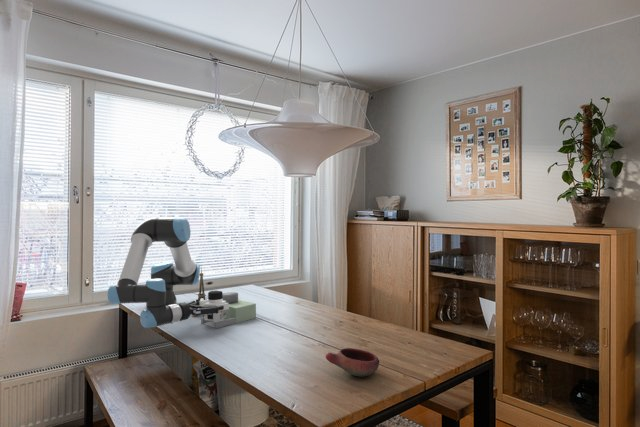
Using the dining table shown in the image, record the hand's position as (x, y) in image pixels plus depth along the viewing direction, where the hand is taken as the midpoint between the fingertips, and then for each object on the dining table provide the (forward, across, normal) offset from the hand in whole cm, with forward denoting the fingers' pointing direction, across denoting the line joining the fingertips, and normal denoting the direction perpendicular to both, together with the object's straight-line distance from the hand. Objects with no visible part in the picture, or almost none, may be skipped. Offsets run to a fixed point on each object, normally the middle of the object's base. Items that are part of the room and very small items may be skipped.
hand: (219, 303), depth 195 cm
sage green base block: (+5, -4, -9) cm, 11 cm away
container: (-2, 0, -7) cm, 7 cm away
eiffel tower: (+4, -22, -10) cm, 24 cm away
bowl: (-7, +85, -9) cm, 86 cm away
